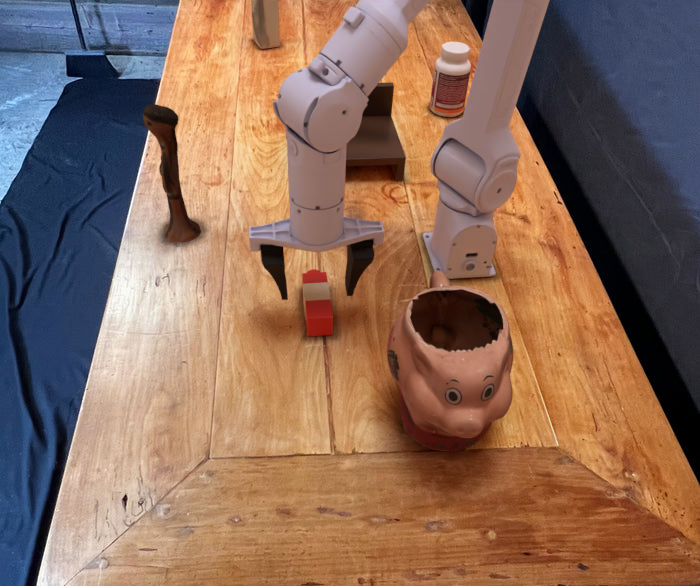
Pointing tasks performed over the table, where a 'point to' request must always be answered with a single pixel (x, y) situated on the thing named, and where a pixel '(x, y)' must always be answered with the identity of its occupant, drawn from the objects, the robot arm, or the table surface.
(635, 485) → the table surface
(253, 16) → the box
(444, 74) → the pill bottle
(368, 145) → the shelf
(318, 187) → the robot arm
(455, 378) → the decorative planter
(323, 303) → the red and white block
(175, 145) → the figurine
